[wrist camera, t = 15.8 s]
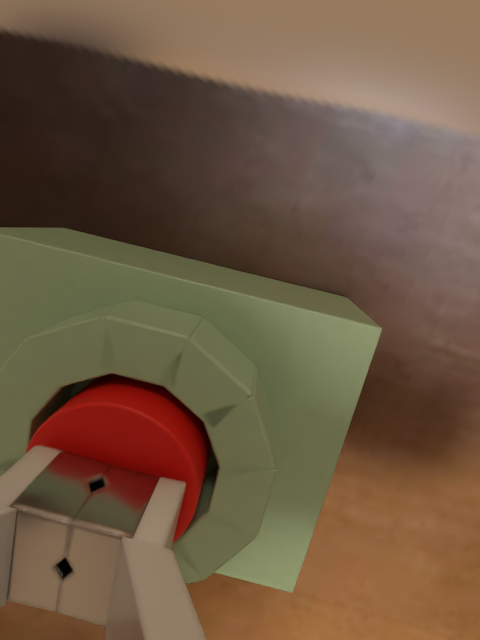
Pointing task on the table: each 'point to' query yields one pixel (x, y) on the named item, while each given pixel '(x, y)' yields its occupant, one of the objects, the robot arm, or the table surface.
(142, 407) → the button
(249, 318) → the button block
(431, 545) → the table surface
